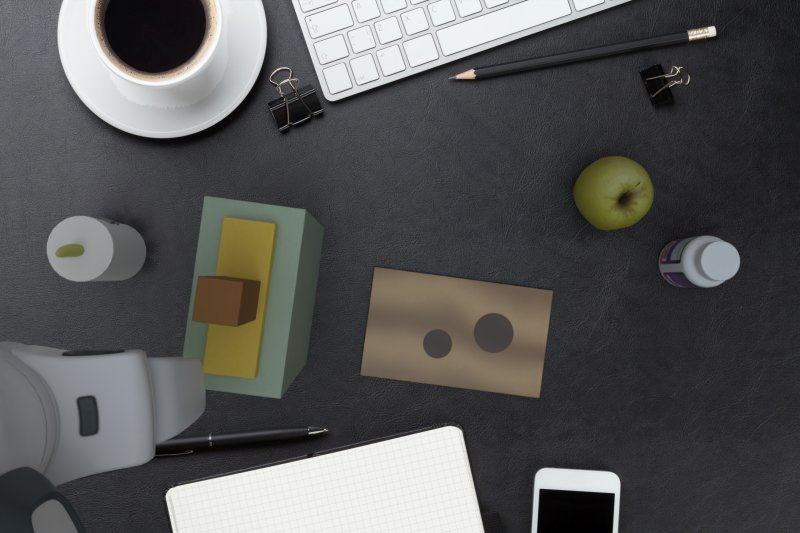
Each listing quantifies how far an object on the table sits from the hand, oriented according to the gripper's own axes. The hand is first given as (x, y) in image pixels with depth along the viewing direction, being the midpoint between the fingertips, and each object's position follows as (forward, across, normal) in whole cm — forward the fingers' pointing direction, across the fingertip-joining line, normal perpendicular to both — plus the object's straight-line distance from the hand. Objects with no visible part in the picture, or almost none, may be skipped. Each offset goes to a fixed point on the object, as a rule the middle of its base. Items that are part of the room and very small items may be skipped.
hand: (83, 388), depth 56 cm
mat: (+27, +31, -1) cm, 41 cm away
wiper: (+3, +12, +6) cm, 13 cm away
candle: (+27, -6, +12) cm, 30 cm away
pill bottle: (+27, +56, +5) cm, 63 cm away
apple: (+27, +48, +13) cm, 57 cm away
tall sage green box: (+27, +12, +6) cm, 30 cm away
